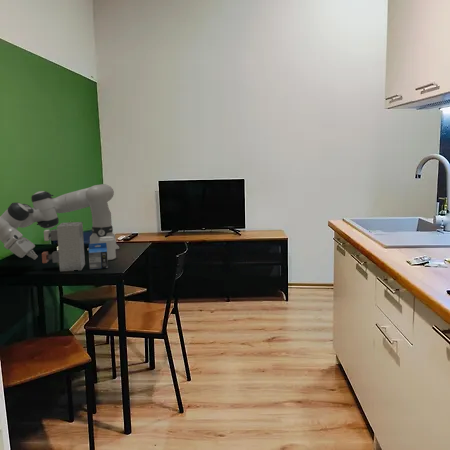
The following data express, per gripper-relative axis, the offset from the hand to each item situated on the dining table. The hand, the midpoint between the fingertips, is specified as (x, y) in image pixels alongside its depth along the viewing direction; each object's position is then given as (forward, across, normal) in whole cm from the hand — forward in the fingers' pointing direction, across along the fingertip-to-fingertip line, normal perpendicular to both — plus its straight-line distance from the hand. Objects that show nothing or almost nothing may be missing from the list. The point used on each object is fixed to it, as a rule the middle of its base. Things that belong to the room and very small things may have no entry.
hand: (36, 258), depth 229 cm
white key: (-1, 0, +12) cm, 12 cm away
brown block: (+6, 0, +3) cm, 6 cm away
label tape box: (+25, +4, +17) cm, 31 cm away
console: (+15, 0, +6) cm, 16 cm away
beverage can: (+28, -17, +19) cm, 38 cm away
